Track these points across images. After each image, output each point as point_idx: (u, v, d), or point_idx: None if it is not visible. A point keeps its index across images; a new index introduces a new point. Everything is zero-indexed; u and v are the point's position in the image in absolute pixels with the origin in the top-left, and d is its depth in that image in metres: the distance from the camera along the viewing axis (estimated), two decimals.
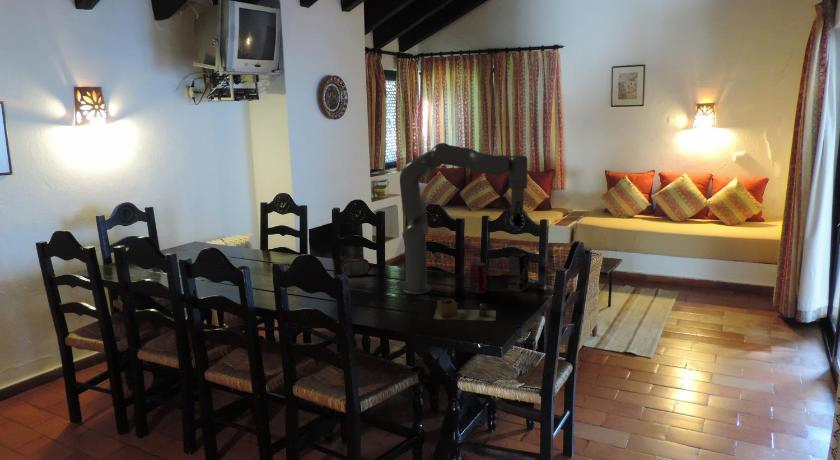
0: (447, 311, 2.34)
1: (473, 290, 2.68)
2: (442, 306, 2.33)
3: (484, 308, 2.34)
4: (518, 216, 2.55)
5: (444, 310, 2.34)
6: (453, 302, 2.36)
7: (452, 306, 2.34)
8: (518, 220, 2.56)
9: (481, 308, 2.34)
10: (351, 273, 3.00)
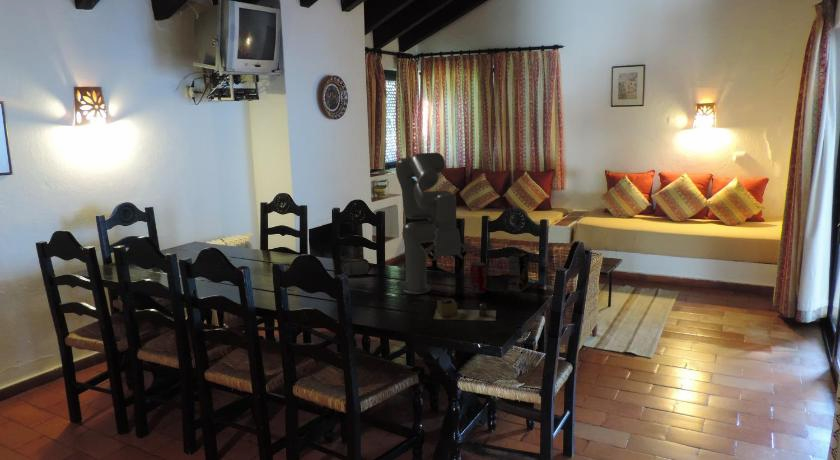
0: (447, 311, 2.34)
1: (473, 290, 2.68)
2: (442, 306, 2.33)
3: (484, 308, 2.34)
4: None
5: (444, 310, 2.34)
6: (453, 302, 2.36)
7: (452, 306, 2.34)
8: None
9: (481, 308, 2.34)
10: (351, 273, 3.00)
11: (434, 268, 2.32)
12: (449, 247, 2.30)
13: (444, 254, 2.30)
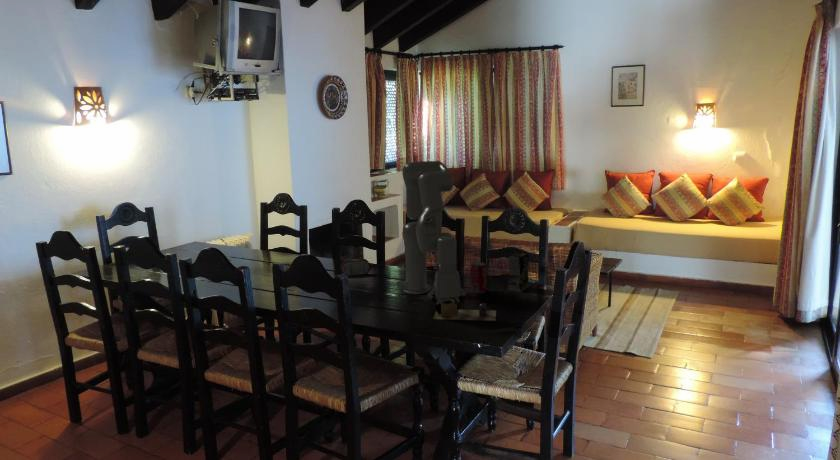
0: (447, 311, 2.34)
1: (473, 290, 2.68)
2: (442, 306, 2.33)
3: (484, 308, 2.34)
4: None
5: (444, 310, 2.34)
6: (453, 302, 2.36)
7: (452, 306, 2.34)
8: None
9: (481, 308, 2.34)
10: (351, 273, 3.00)
11: (438, 311, 2.36)
12: (449, 290, 2.33)
13: (445, 296, 2.33)
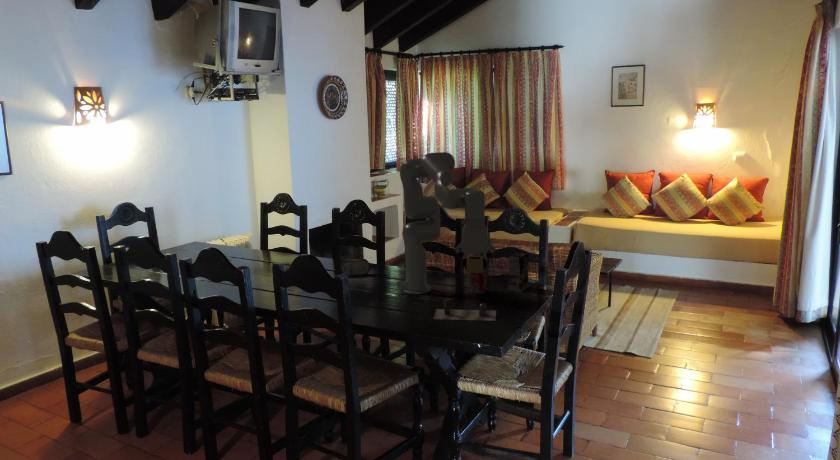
0: (472, 266, 2.29)
1: (473, 290, 2.68)
2: (467, 261, 2.29)
3: (484, 308, 2.34)
4: None
5: (469, 265, 2.29)
6: (480, 258, 2.30)
7: (477, 262, 2.29)
8: (486, 262, 2.32)
9: (481, 308, 2.34)
10: (351, 273, 3.00)
11: None
12: (475, 245, 2.28)
13: (470, 251, 2.28)
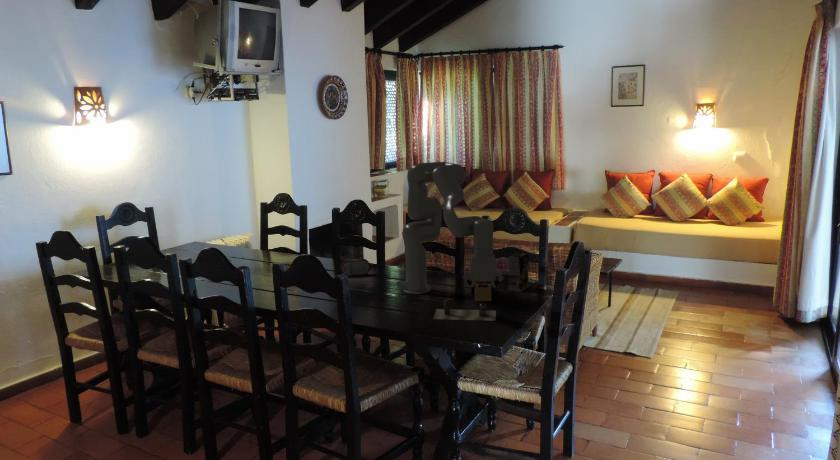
0: (480, 294, 2.31)
1: None
2: (475, 289, 2.31)
3: (484, 308, 2.34)
4: None
5: (477, 293, 2.31)
6: (488, 286, 2.32)
7: (485, 291, 2.30)
8: (494, 290, 2.33)
9: (481, 308, 2.34)
10: (351, 273, 3.00)
11: (473, 294, 2.34)
12: (483, 273, 2.30)
13: (478, 279, 2.30)
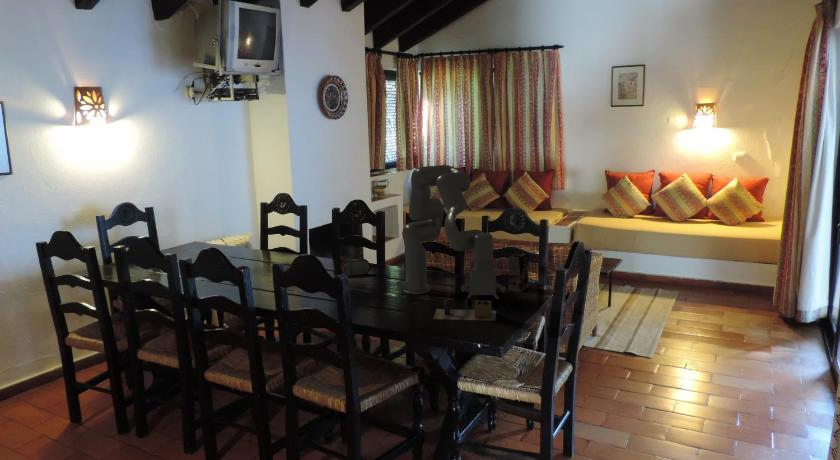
0: (480, 311, 2.32)
1: None
2: (475, 306, 2.32)
3: None
4: None
5: (477, 310, 2.32)
6: (488, 304, 2.33)
7: (485, 308, 2.32)
8: None
9: None
10: (351, 273, 3.00)
11: (469, 305, 2.35)
12: (483, 287, 2.31)
13: (478, 293, 2.31)
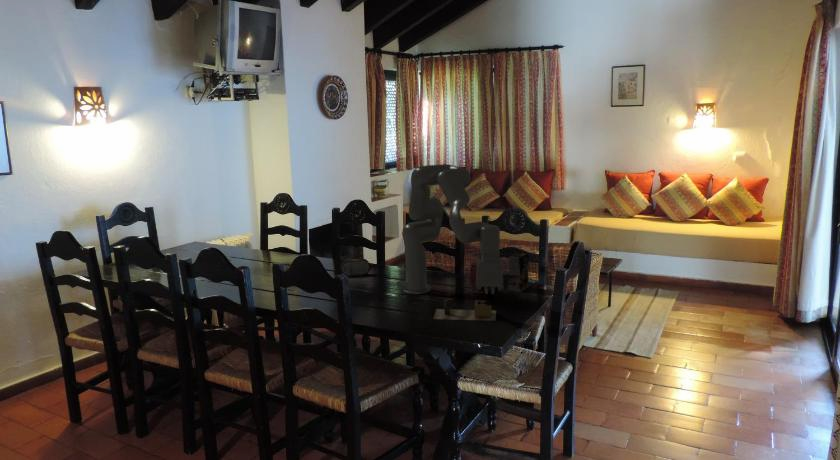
0: (480, 311, 2.32)
1: (473, 290, 2.68)
2: (475, 306, 2.32)
3: None
4: None
5: (477, 310, 2.32)
6: (488, 304, 2.33)
7: (485, 308, 2.32)
8: None
9: None
10: (351, 273, 3.00)
11: None
12: (490, 279, 2.30)
13: (485, 285, 2.30)
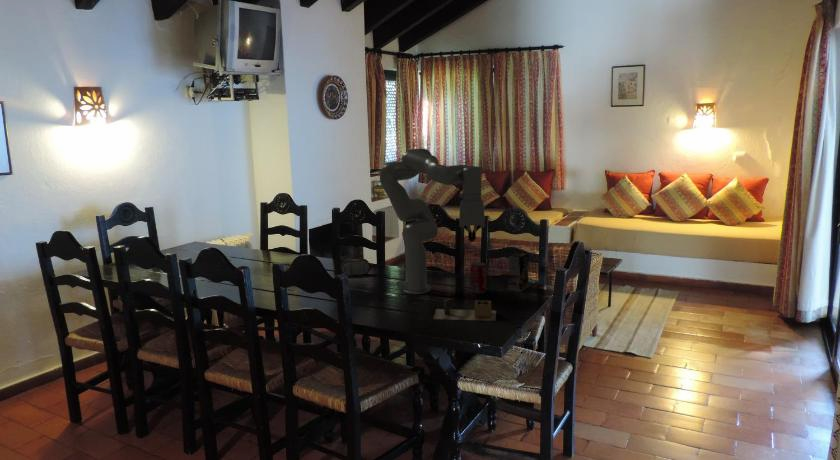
0: (480, 311, 2.32)
1: (473, 290, 2.68)
2: (475, 306, 2.32)
3: None
4: None
5: (477, 310, 2.32)
6: (488, 304, 2.33)
7: (485, 308, 2.32)
8: (475, 235, 2.48)
9: None
10: (351, 273, 3.00)
11: (470, 239, 2.48)
12: (472, 217, 2.43)
13: (467, 223, 2.44)
